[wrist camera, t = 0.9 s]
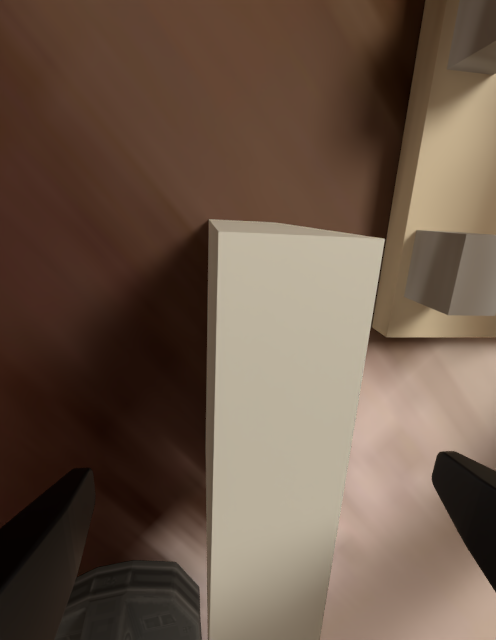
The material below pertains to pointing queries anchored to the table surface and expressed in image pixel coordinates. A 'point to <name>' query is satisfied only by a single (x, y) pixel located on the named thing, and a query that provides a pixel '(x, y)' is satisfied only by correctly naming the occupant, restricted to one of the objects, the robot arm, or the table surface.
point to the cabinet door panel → (280, 417)
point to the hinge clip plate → (445, 184)
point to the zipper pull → (133, 604)
